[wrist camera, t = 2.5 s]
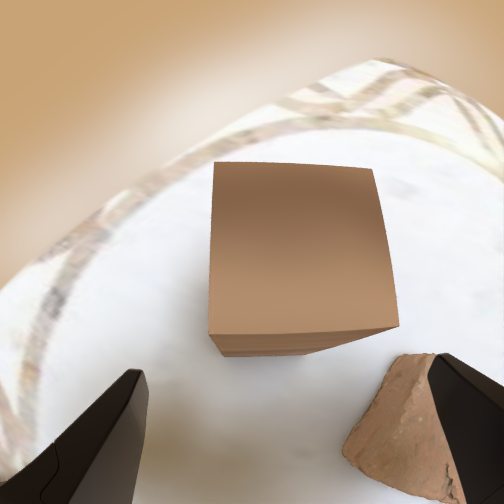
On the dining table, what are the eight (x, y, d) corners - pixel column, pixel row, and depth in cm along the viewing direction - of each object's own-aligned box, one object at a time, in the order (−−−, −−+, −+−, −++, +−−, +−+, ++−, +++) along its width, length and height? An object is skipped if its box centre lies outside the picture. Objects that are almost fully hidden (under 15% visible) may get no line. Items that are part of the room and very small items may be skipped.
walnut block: (305, 354, 19) (399, 326, 8) (223, 356, 19) (208, 334, 8) (301, 277, 21) (371, 169, 10) (224, 278, 20) (214, 161, 9)
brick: (333, 457, 17) (360, 477, 12) (395, 349, 20) (432, 341, 15) (476, 508, 14) (510, 520, 10) (517, 424, 17) (554, 424, 13)
